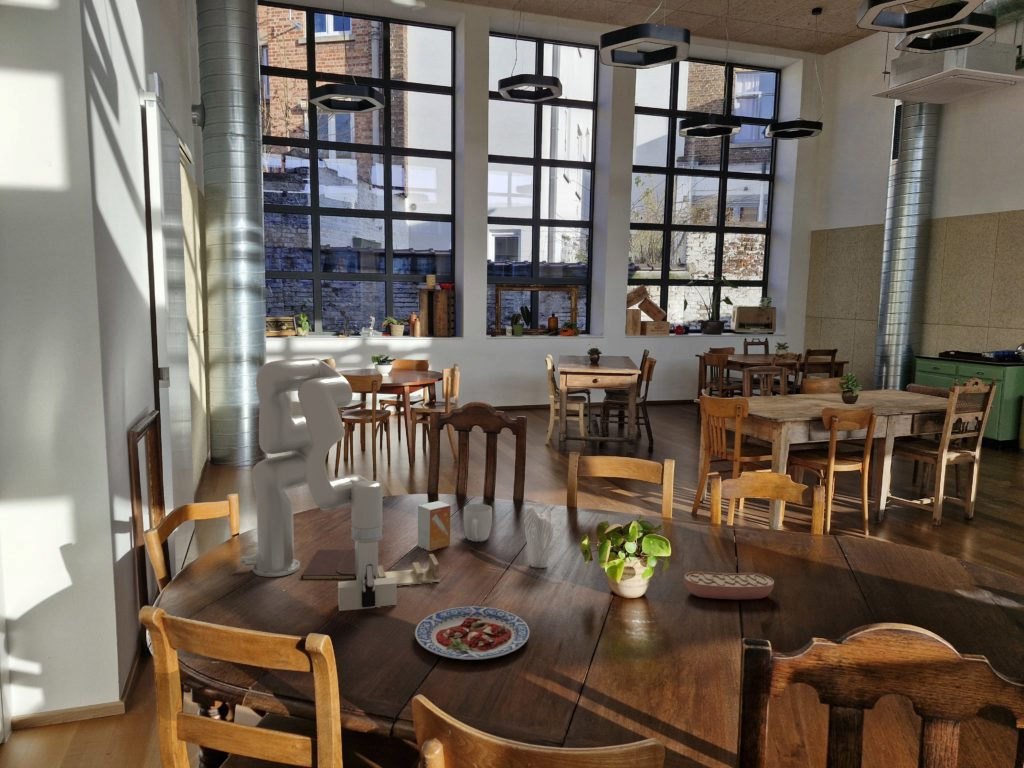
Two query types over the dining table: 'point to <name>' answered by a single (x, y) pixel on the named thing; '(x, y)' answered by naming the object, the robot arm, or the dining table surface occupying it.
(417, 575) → the rack
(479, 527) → the mug
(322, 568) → the notebook
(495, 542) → the dining table surface
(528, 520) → the white fluted vase
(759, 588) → the oval trinket tray
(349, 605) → the clay bar
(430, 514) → the small box
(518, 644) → the ceramic plate
